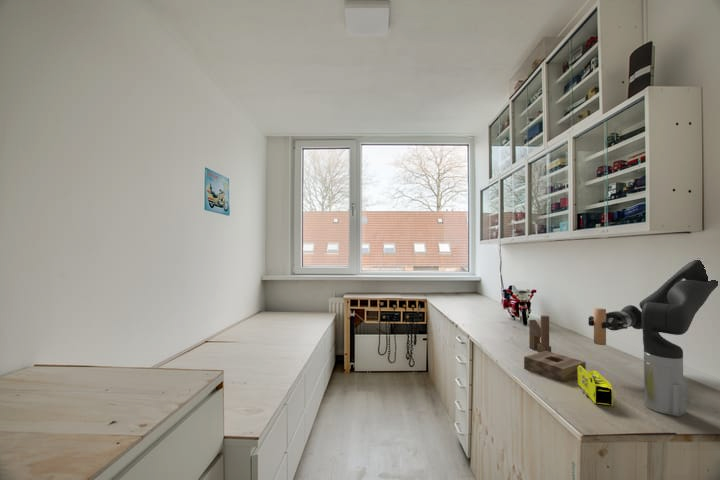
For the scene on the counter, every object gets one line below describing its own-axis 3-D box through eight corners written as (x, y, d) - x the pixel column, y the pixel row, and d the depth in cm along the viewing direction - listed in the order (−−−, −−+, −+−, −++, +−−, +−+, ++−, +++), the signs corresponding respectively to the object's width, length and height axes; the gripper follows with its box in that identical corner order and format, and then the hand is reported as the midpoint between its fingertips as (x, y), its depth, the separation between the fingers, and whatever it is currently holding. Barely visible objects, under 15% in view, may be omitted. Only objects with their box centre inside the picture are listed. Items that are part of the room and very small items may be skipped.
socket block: (585, 374, 132) (585, 361, 132) (563, 382, 124) (563, 368, 124) (546, 362, 146) (546, 350, 146) (524, 368, 138) (524, 356, 138)
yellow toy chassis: (576, 385, 122) (576, 363, 122) (594, 387, 120) (593, 364, 120) (593, 405, 106) (593, 379, 106) (614, 408, 105) (613, 382, 105)
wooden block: (535, 347, 168) (535, 312, 168) (551, 354, 157) (551, 316, 158) (529, 347, 167) (528, 312, 167) (545, 354, 157) (544, 316, 157)
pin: (608, 344, 132) (607, 309, 132) (603, 345, 130) (602, 310, 130) (596, 341, 135) (596, 307, 136) (591, 343, 133) (591, 308, 134)
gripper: (637, 333, 133) (617, 338, 125) (598, 325, 146) (577, 329, 137) (637, 314, 134) (617, 318, 125) (598, 308, 146) (577, 311, 138)
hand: (596, 324), depth 131 cm, fingers closed on pin, 4 cm apart
